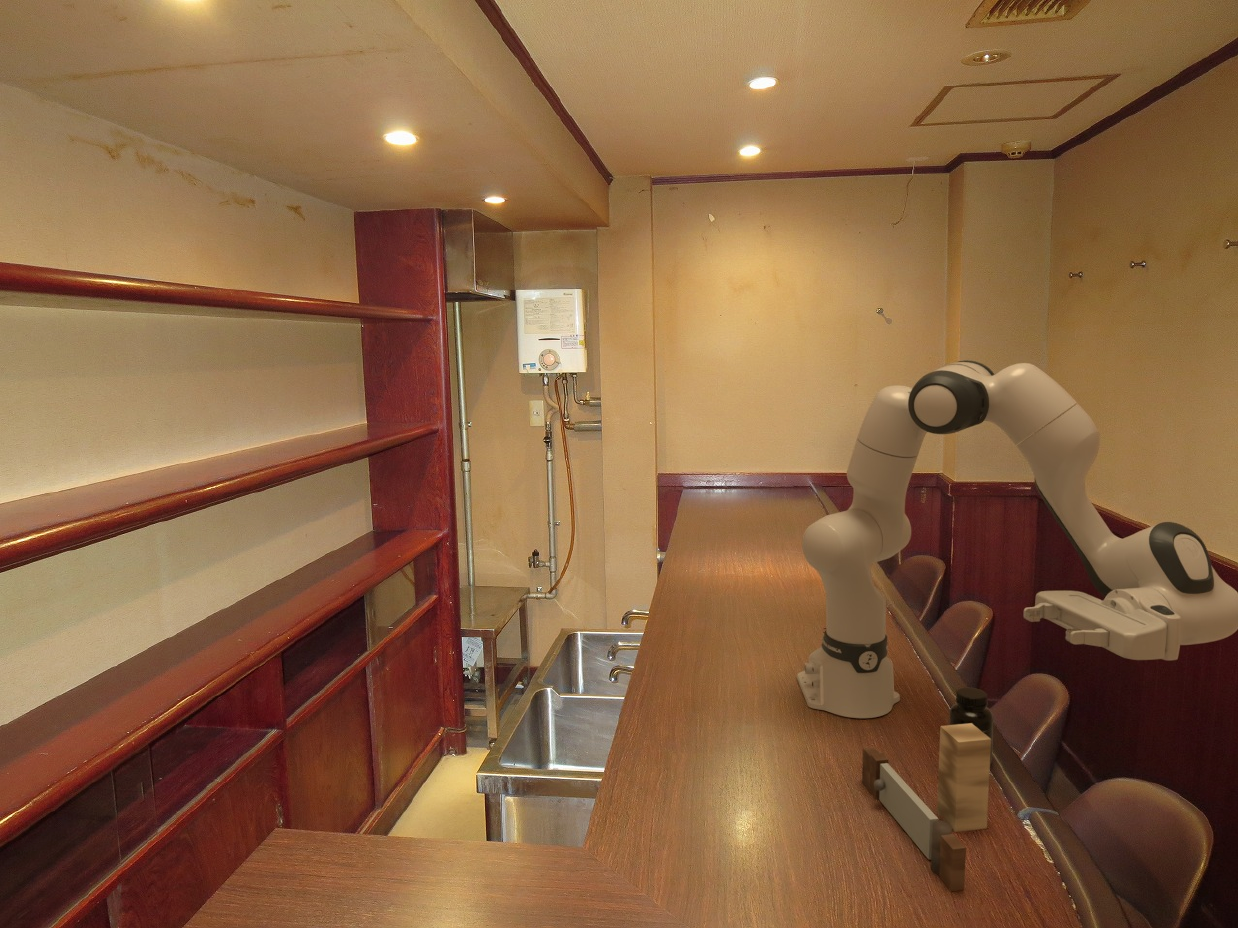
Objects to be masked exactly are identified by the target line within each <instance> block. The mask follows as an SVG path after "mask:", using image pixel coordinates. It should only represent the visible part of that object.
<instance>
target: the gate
mask: <svg viewBox="0 0 1238 928" xmlns="http://www.w3.org/2000/svg"><path fill="white" fill-rule="evenodd" d="M874 787H875V789H876V790H878V791H879V799H878V800H879V801H880V802H881V804H882V805H883V806H884V807H885V808H886V810H887V811H888V812H889V813H890V815H891V816H892V817H893V818H894V820H895V821H896V822H897V823H898V825H899V826H900V827H901V828H902V829H903V830H904V831H905V833H906V834H907V835H908V836H909V838H910V839H911V841H912V842H914V844H915V845H916V846H917V847H918V848H919V850H920V851H921V852H922V854H923V855H924V856H925V857H926V858H927V860H930V861H931V851H932V824H933V822H934V821H937V820H939V818H938V817H937V815H936V814H934V812H933V811H932V810H931V809H930V808H929V807H928V806H927V805H926V803H924V801H923V800H922V798H920V797H919V796H918V795H917V794H916V792H915V791H914V790H913V789H912V788H911V787H910V786H909V785H908V783H906V782H905V781H904V780H903V778H902V777H901V776H900V775H899V774H898V773H897V772H896V771H895V769H894V768H893V767H892V766H891V765H890V764H889V762H888V763H884V764H880V780H876V781H875V782H874Z"/></svg>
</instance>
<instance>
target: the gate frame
mask: <svg viewBox="0 0 1238 928" xmlns="http://www.w3.org/2000/svg"><path fill="white" fill-rule="evenodd" d="M884 763H888V764H889V758H888V757H887V756H886V755H885V753H883V752H881V753H880V752H879V751H878V750H877V749H876V748H875V746H867V747H863V748H862V767H861V768H862V770H861V772H862V773H861V774H862V775H861V776H862V777H861V783H862V784H863V785H864V787H865V788H866V789H867V790H868V791H869V793H870V795H872V797H873V799H874V800H879V791H878V790H876V789H875V787H874V782H875V781H876V780H880V764H884ZM952 832H953V830H952V826H951V825H950V824H949V823H947V822H945V821H944V820H942V819H941V820H940V819H938V820H937V821H934V822H933V824H932V851H931V859H930V870H931V871H932V872H933V873H934V874H936V875H938V876H939V878H940V879H941V881H942V882H943V883H944V884H945V886H946V887H947V888H948V889H949V891H950V892H957V891H964V890H965V879H966V878H965V876H966V859H967V857H966V853H967V847H966V846H965V845H964V844H963V842H961V841H960V840H959V838H958V837H957V836H956V835H955V834H954V833H952Z"/></svg>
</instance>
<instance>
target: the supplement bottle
mask: <svg viewBox="0 0 1238 928" xmlns="http://www.w3.org/2000/svg"><path fill="white" fill-rule="evenodd" d="M955 696H956V697H955V702H956V703H954V704H953V705H951V707H950V709H949V718H948V719H949V721H948V722H949V723H948V725H957V724H968V723H972V724H973V725H974V726H976V727H977V728H978V729H979V730H981V731H982V732H983V733H984V734H985V735H987V736H988V737H989V738H990V739H991V752H990V765H991V763H992V762H993V741H994V740H993V739H994V715H993V712H992V711H991V709H990V708H989V707H988V694H987V692H985V691H984V690H982V689H979V688H975V687H960V688H958V689H957V690H956V695H955Z"/></svg>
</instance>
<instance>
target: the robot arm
mask: <svg viewBox="0 0 1238 928" xmlns="http://www.w3.org/2000/svg"><path fill="white" fill-rule="evenodd" d="M1081 406H1082V405H1080V404H1079V403H1078V402H1077V401H1076V400H1075V399H1074V398H1073V396H1071V394H1070V393H1068V391H1066V389H1065V388H1064V387H1063V386H1062V385H1060V383H1058V382H1057V381H1056V380H1055V379H1053V378H1052V377H1051V376H1049V375H1048V373H1046V372H1044V371H1043V370H1042V369H1040V368H1039V367H1037V366H1036V365H1034V364H1032V363H1028V362H1019V363H1015V364H1010V365H1009V366H1007V367H1005V368H1002V369H1001V370H1000V371H998V372H997V373H996V374H995V373H994V372H993V370H991V368H989V367H988V366H987V365H985V364H984V363H981V362H979V361H974V360H969V359H968V360H967V359H966V360H959V361H956V362H950V363H947V364H944V365H942V366H939V367H938V368H936V369H935V370H933V371H931V372H929V373H926V374H925V375H923V376H922V377H920V378H919V379H918V381H916V383H915V384H914V385H913V386H912V387H911V386H907V385H899V384H898V385H897V384H896V385H895V384H894V385H887V386H885V387H883V388H882V389H880V390H879V391H877V393H876V395H875V396H874V398H873V399H872V400H871V404H870V405H869V407H868V408H867V412H866V413H865V416H864V418H863V420H862V423H861V426H860V428H859V431H858V435H857V438H856V441H855V444H854V447H853V451H852V454H851V457H850V460H849V463H848V467H847V470H846V478H847V481H848V483H849V484H850V486H851V487H852V488H853V496H852V502H851V505H850V506H849V507H848V509H847V510H843V511H840V512H839V511H838V512H835V513H831V514H827V515H825V516H823V517H821V518H819V519H817V520H816V521H814V522H812V524H810V525H808V527H807V528H806V529H804V532H803V534H802V539H801V549H802V553H803V556H804V558H805V560H806V562H807V563H808V564H809V565H810V567H812V568H813V569H814V570H815V571H816V572H817V573H818V574H819V576H820V579H821V581H822V585H823V587H824V591H825V603H826V604H825V605H826V606H825V609H826V610H825V611H826V613H825V615H826V617H825V618H826V627H824V628H823V630H825V631H823V632H822V633H823V636H822V639H821V640H822V641H821V646H820V647H818V648H817V649H815V650H814V651H812V652H811V653H810V654H809V656H808V662H805V663H804V667H803V669H804V670H802V671H799V672H797V676H796V680H797V682H798V684H799V687H800V690H801V693H802V695H803V697H804V699H805V702H806V704H807V707H809V708H810V709H815V710H819V711H820V710H821V711H826V712H829V713H831V714H834V715H836V716H841V717H845V718H853V719H873V718H877V717H881V716H885V715H886V714H889V712H891V711H892V709H893V706H894V705H895V704H896V703H898V702H900V700H901V695H900V694H899V692H897V691H895V681H894V664H893V661H892V659H890V658H889V657H888V649H889V642H888V636H887V634H886V624H887V623H886V618H887V611H886V610H887V600H886V596H885V595H884V593H883V592H882V591H881V589H879V588H878V587H876V586H875V582H874V579H873V575H872V565H873V564H875V563H877V562H880V561H885V560H887V559H890V558H892V557H894V556H895V555H896V554H898V553H899V552H901V551H902V550H903V549H905V547H907V545H908V544H909V542H910V540H911V538H912V526H911V523H910V519H909V518H908V516H907V514H906V497H907V490H908V487H909V483H910V480H911V478H912V475H913V472H914V469H915V464H916V462H917V460H918V456H919V453H920V451H921V447H922V443H923V441H924V439H925V437H926V434H927V433H929V434H933V435H951V434H955V433H959V432H961V431H964V430H966V429H969V428H972V427H974V426H978V425H981V424H982V423H983V422H984V421H985V422H989V423H992V424H994V425H996V426H997V427H999V428H1000V429H1001V430H1002V431H1003V432H1004V433H1005V434H1006V435H1007V437H1008V438H1009V439H1010V441H1012V442H1013V444H1014V445H1015V446H1016V448H1018V450H1019V451H1020V453H1021V454H1022V455H1023V457H1024V459H1026V462H1027V464H1028V465H1029V467H1030V468H1031V470H1032V473H1033V476H1034V478H1033V479H1034V484H1035V488H1036V490H1037V492H1038V494H1039V496H1040V499H1042V501H1043V502H1044V504H1045V506H1046V507H1047V509H1048V511H1049V512H1050V514H1051V515H1052V516H1053V518H1054V519H1055V522H1057V524H1058V525H1059V527H1060V529H1061V530H1062V532H1063V533H1064V534H1065V536H1066V537H1067V539H1068V540H1069V542H1070V543H1071V545H1072V546H1073V547H1074V549H1075V551H1076V552H1077V554H1078V556H1079V558H1080V559H1081V562H1082V563H1083V566H1084V569H1085V572H1086V574H1087V576H1088V578H1089V580H1090V582H1091V584H1092V586H1093V587H1094V588H1095V589H1096V591H1097V592H1098V593H1099V594H1100V595H1102V596H1103V597H1105V598H1104V599H1103V600H1102V599H1100V598H1098V597H1095V596H1093V595H1090V594H1088V593H1086V592H1083V591H1078V590H1044V591H1038V592H1037V593H1036V594H1035V600H1034V601H1035V603H1034V606H1032V607H1031V606H1030V607H1025V608H1024V609H1023V619H1025V620H1026V621H1028V622H1031V623H1034V622H1040V621H1041V619H1044V620H1045V619H1046V620H1048V621H1050V622H1052V623H1054V624H1056V625H1058V626H1060V627H1061V628H1064V629H1066V630H1065V637H1064V639H1065V640H1066V641H1067V642H1069V643H1070V644H1073V645H1087V646H1094V647H1101V648H1103V649H1105V650H1107V651H1109V652H1111V653H1113V654H1115V655H1117V656H1120V657H1122V658H1123V659H1129V660H1134V661H1148V660H1149V661H1150V660H1151V661H1152V660H1164V661H1177V660H1178V658H1179V654H1180V648H1181V646H1188V645H1189V646H1190V645H1199V644H1206V643H1211V642H1216V641H1221V640H1223V639H1225V638H1229V637H1230V636H1232V635H1233V634H1234V633H1236V632H1237V631H1238V591H1237V590H1236V589H1235V588H1234V587H1232V586H1231V585H1230V584H1228V583H1226V582H1225V581H1224V580H1223V579H1222V578H1221V577H1220V576H1219V574H1218V572H1217V571H1216V570H1215V568H1214V567H1213V565H1212V561H1211V558H1210V554H1209V551H1208V548H1207V546H1206V544H1205V542H1204V541H1203V540H1202V539H1201V537H1200V536H1199V535H1198V534H1197V533H1196V532H1194V531H1193V530H1192V529H1190V528H1189V527H1188V526H1185V525H1183V524H1181V523H1177V522H1174V521H1162V522H1159V523H1157V524H1155V525H1152V526H1149V527H1146V528H1145V529H1142V530H1138V531H1137V532H1135V533H1133V534H1131V535H1129V536H1126V537H1124V538H1120V537H1118V536H1117V535H1115V534H1114V533H1113V532H1112V531H1111V530H1110V528H1109V527H1108V525H1107V523H1106V522H1105V521H1104V519H1103V517H1102V516H1101V515H1100V513H1099V512H1098V510H1097V509H1096V507H1095V506H1094V505H1093V503H1092V501H1091V500H1090V499H1089V496H1088V495H1087V492H1086V491H1087V490H1086V487H1085V485H1086V477H1087V475H1088V474H1089V473H1088V472H1089V471H1090V469H1091V467H1092V466H1093V464H1094V463H1095V461H1096V459H1097V456H1098V454H1099V450H1100V444H1101V438H1100V432H1099V429H1098V428H1097V426H1096V424H1095V422H1094V420H1093V419H1092V417H1090V415H1089V414H1088V413H1087V412H1086V411H1085V409H1084V408H1083V407H1081Z"/></svg>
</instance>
